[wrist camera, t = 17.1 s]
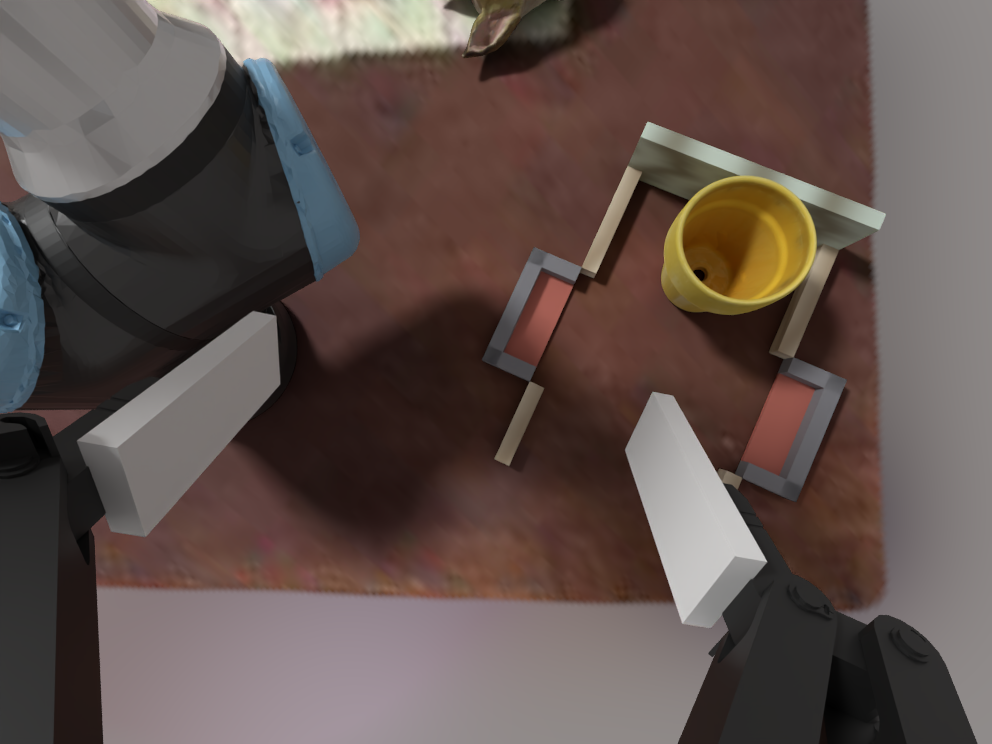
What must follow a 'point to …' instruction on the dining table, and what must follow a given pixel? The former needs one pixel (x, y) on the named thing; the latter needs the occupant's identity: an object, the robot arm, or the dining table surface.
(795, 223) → the plant pot
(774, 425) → the trap bays
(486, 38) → the ceramic sculpture
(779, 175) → the box
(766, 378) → the dining table surface
